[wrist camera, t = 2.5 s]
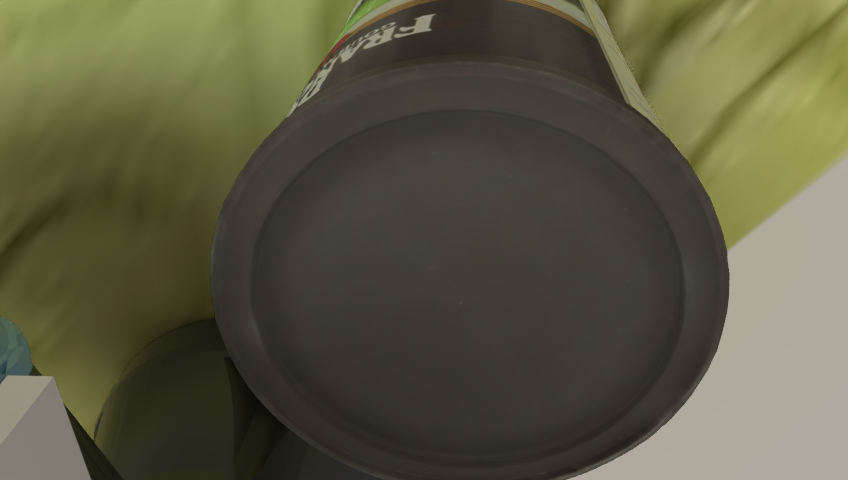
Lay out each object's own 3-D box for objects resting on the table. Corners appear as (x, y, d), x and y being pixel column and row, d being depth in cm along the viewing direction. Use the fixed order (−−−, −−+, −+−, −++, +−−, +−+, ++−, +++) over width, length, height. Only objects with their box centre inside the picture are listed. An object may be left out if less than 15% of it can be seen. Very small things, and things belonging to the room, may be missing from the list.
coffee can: (278, 103, 28) (115, 329, 16) (460, -133, 24) (431, -75, 11) (484, 262, 31) (482, 560, 19) (681, 77, 26) (848, 305, 14)
